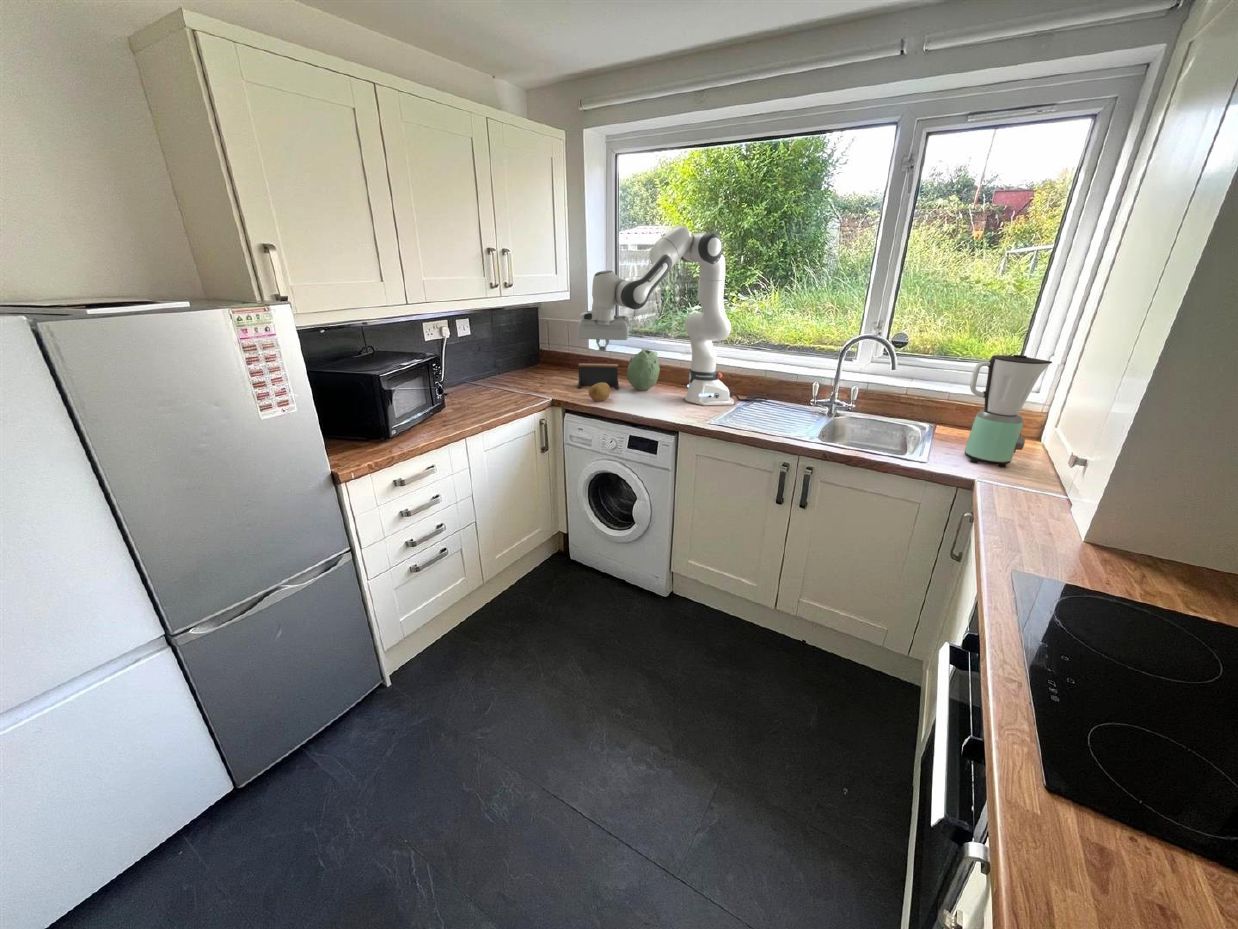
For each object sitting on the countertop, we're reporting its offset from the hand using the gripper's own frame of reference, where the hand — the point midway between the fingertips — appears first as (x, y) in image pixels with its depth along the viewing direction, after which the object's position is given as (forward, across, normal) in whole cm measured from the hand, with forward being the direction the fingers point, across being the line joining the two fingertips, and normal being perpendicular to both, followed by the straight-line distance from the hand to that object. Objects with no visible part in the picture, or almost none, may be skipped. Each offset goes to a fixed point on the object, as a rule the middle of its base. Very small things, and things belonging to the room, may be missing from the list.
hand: (602, 351), depth 199 cm
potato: (+25, 0, -19) cm, 32 cm away
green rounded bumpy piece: (+25, -22, -42) cm, 54 cm away
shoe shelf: (+25, 0, -46) cm, 53 cm away
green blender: (+25, -127, +54) cm, 140 cm away
